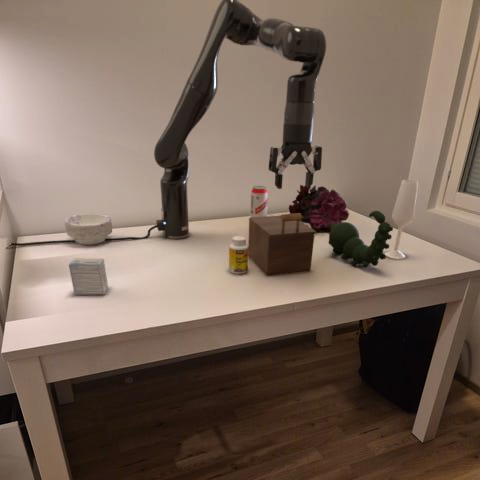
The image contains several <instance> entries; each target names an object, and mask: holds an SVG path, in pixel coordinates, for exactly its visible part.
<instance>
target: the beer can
mask: <svg viewBox="0 0 480 480" xmlns="http://www.w3.org/2000/svg"><path fill="white" fill-rule="evenodd" d="M268 193H269V192H268V190H267V187H266V186H265V185H263V186H262V185H255V186H254V185H253V186H252V189H251V193H250V215H249V218H251V217H267V213H268Z"/></svg>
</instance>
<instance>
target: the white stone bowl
mask: <svg viewBox="0 0 480 480" xmlns="http://www.w3.org/2000/svg"><path fill="white" fill-rule="evenodd" d="M64 226H65V230H66V231H65V232H66V235H67V236H68V237H70V238H72V239H73V240H75V241H76V242H75V243H77V244H80V245H85V246H92V245H99V244H101V243H103V242H106V241H105V239H108V236H109V235H111V234H112V233H113V223H112V218H111V217H110V216H109V215H106V214H102V213H79V214H74V215H70V216H68V217H66V218H65V220H64Z"/></svg>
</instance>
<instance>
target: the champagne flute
mask: <svg viewBox="0 0 480 480" xmlns="http://www.w3.org/2000/svg"><path fill="white" fill-rule="evenodd" d="M418 187H419V181H418V180H413V179H403V180H401V183H400V187H399V190H398V193H397V196H396V200H395V204H394V207H393V210H392V214H391V219H392V221H393V222H394V224H395V225H396V226H397V227H398V229H397V233H396V237H395V243H394V247H393V248H394V249H392V250H389V251H386V252H385V253H384V254H385V255H386V258H390V259H395V260H401V259H402V260H403V259H404V258H406V255H405V254H403V252H401V251H400V250H399V246H400V241H401V238H402V237H401V236H402V232H403V228H404V227H406V226H408V225H409V224H411V222H413V220H414V218H415V214H416V213H415V212H416V204H417V202H416V201H417V196H418Z"/></svg>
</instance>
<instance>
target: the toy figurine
mask: <svg viewBox="0 0 480 480" xmlns="http://www.w3.org/2000/svg"><path fill="white" fill-rule="evenodd" d="M368 218H374V220H375V221H376V222H377V223H378V226H377V230H376V232H375V233H374V238H373V239H372V240H371V242H370V245H369V246H368V245H367V244H365V242H364V241H363V239H362V238H360V232H359V230H358V228H357V227H356V226H355V225H354V224H353V223H350V222H347V221H342V222H341V223H339V224H337V225H336V224H333V223H330V227H331V231H330V232H329V235H328V242H327V243H328V245H330V246H331V247H332V253H333V254H334V255H337V256H340V255H341V256H340V257H341V258H340V259H342V260H343V261H348V260H349V259H352V260H351V262H350V264H351V266H353V267H355V266H358V264H359V265H361V266H362V267H363V268H368V267H369V266H370V264H371V265H372V266H377V265H378V264H379V260H383V261H384V260H385V259H386V258H387V256H386V255H385V253H384V250H388V249H389V248H390V244H389V243H387V241H388V240H391V239H392V235H391V234H390V232H392V231H393V230H394V227H393V226H392V225H391V224H390V223H389V222H388V221H386V216H385V215H384V213H383V212H381V211H379V210H373V211H371V212H370V213H369V215H368Z"/></svg>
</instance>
